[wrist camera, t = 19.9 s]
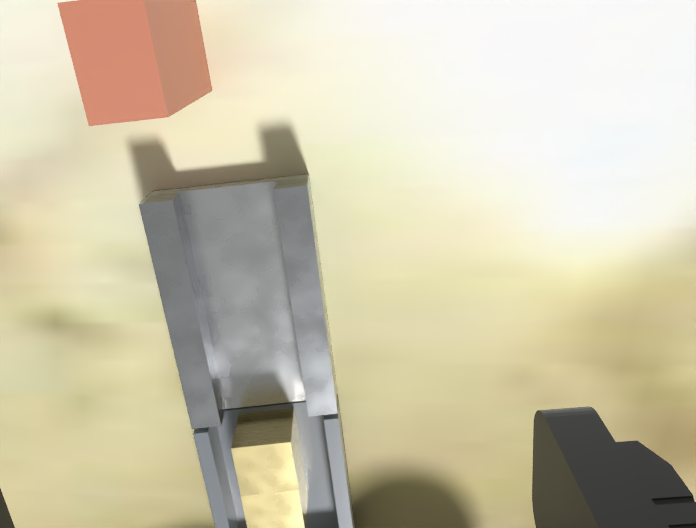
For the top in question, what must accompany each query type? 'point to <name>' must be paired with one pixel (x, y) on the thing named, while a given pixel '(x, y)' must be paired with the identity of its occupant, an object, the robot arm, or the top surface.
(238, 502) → the tray
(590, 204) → the top surface
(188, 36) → the pink rectangular block
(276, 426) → the tan cubic piece
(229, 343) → the slot bed
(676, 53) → the top surface
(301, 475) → the khaki cube
